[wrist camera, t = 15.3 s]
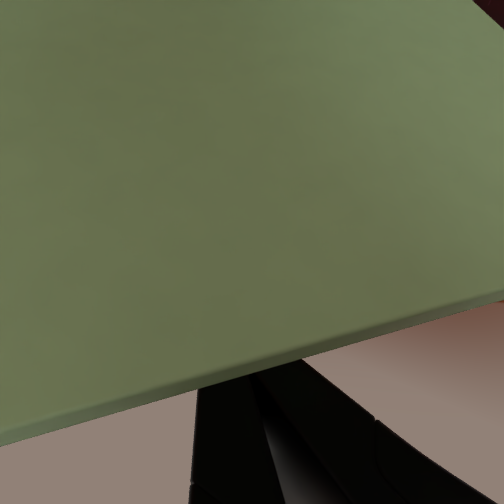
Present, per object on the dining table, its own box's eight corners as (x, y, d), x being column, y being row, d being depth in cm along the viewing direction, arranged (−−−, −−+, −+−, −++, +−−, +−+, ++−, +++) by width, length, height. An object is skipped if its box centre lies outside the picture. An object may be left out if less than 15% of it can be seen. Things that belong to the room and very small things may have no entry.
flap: (445, -26, 8) (435, -5, 9) (-256, -4, 6) (-231, 27, 6) (721, 228, 5) (690, 245, 6) (-562, 591, 2) (-474, 588, 3)
